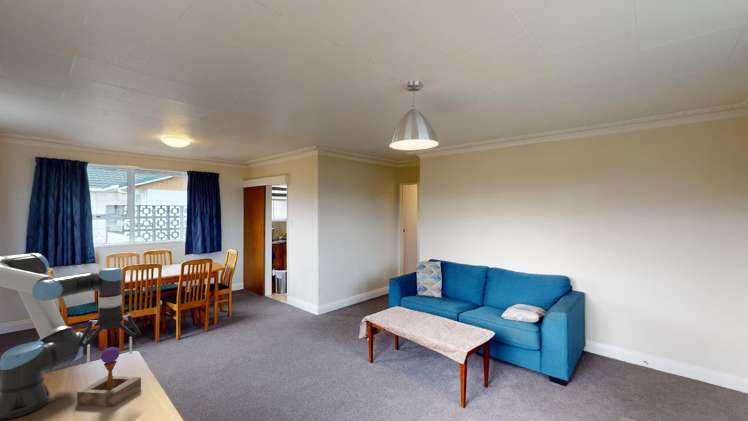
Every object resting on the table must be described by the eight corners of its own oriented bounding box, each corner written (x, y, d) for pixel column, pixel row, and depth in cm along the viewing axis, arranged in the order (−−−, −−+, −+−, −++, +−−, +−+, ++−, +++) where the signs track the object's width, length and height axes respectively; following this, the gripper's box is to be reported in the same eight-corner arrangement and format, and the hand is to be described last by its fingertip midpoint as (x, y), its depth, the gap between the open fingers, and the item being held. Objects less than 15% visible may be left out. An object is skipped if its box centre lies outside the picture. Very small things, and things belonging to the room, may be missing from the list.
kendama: (106, 401, 131) (106, 351, 131) (97, 398, 133) (97, 349, 133) (122, 394, 136) (122, 345, 137) (113, 391, 139) (113, 344, 139)
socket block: (76, 404, 129) (77, 391, 129) (107, 387, 142) (107, 375, 142) (113, 406, 127) (113, 393, 127) (140, 389, 140) (141, 377, 140)
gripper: (68, 313, 125) (68, 369, 124) (147, 302, 140) (147, 352, 140) (70, 309, 130) (69, 362, 130) (146, 299, 146) (146, 346, 146)
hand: (110, 357), depth 135 cm, fingers open, 13 cm apart
